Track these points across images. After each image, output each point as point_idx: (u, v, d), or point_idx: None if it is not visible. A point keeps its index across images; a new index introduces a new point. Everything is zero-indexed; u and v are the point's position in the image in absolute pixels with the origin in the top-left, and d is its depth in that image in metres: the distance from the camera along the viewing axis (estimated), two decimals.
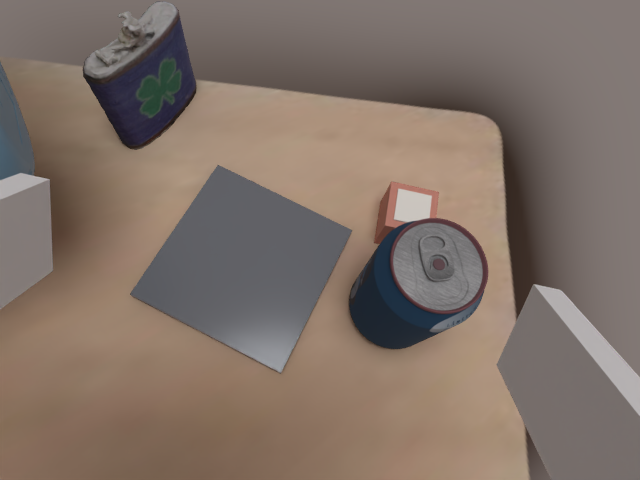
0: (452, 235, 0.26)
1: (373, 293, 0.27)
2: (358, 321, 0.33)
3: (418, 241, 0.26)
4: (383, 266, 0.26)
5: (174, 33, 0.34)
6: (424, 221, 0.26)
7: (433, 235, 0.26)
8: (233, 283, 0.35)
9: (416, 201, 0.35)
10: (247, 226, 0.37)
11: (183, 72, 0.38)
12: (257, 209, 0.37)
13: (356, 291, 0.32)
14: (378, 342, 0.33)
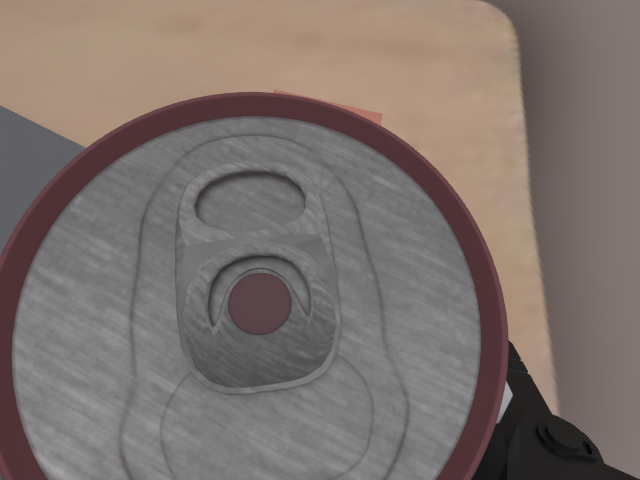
0: (348, 169, 0.06)
1: None
2: None
3: None
4: None
5: None
6: (221, 106, 0.06)
7: (255, 166, 0.06)
8: None
9: None
10: None
11: None
12: None
13: None
14: None
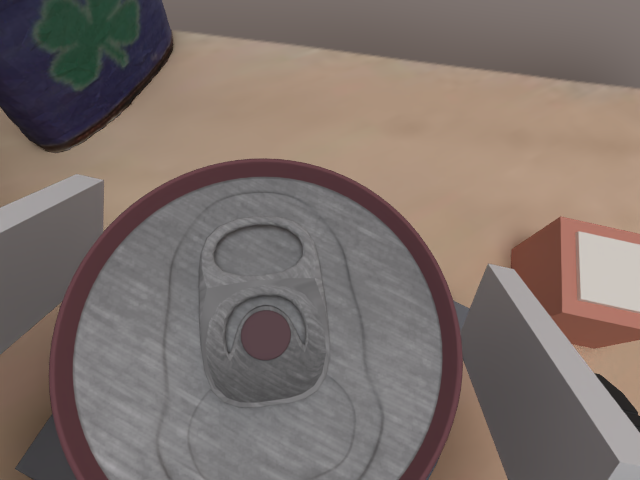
0: (338, 222, 0.07)
1: None
2: None
3: None
4: None
5: None
6: (234, 170, 0.07)
7: (262, 221, 0.07)
8: None
9: (618, 258, 0.17)
10: None
11: (143, 5, 0.20)
12: None
13: None
14: None
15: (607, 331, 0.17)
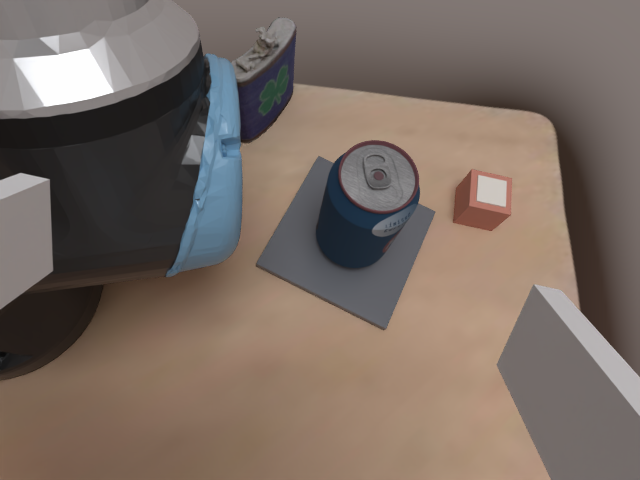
0: (391, 154, 0.32)
1: (327, 205, 0.33)
2: (321, 242, 0.39)
3: (363, 159, 0.32)
4: (334, 178, 0.31)
5: (291, 44, 0.41)
6: (368, 143, 0.32)
7: (375, 154, 0.32)
8: None
9: (494, 185, 0.42)
10: None
11: (289, 77, 0.44)
12: None
13: (319, 214, 0.38)
14: (338, 260, 0.38)
15: (490, 216, 0.42)
